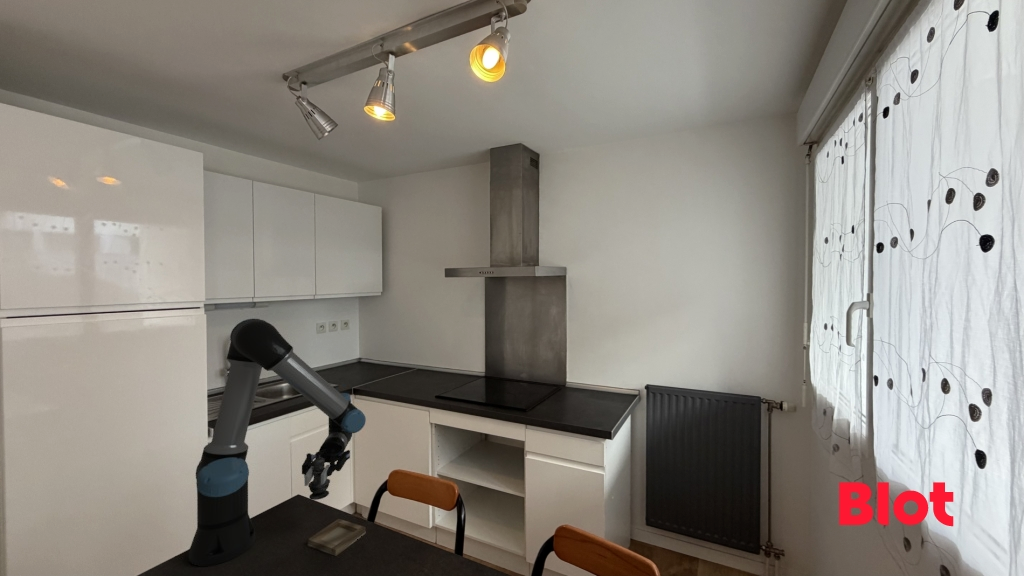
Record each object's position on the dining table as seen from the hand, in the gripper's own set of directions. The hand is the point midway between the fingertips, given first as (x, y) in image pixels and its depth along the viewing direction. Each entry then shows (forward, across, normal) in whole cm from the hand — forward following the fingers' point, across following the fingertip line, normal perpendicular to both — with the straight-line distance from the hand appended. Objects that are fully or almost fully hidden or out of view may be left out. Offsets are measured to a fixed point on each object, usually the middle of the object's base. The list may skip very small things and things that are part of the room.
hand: (314, 480), depth 111 cm
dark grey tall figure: (-5, 0, -7) cm, 9 cm away
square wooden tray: (-2, -6, -19) cm, 20 cm away
